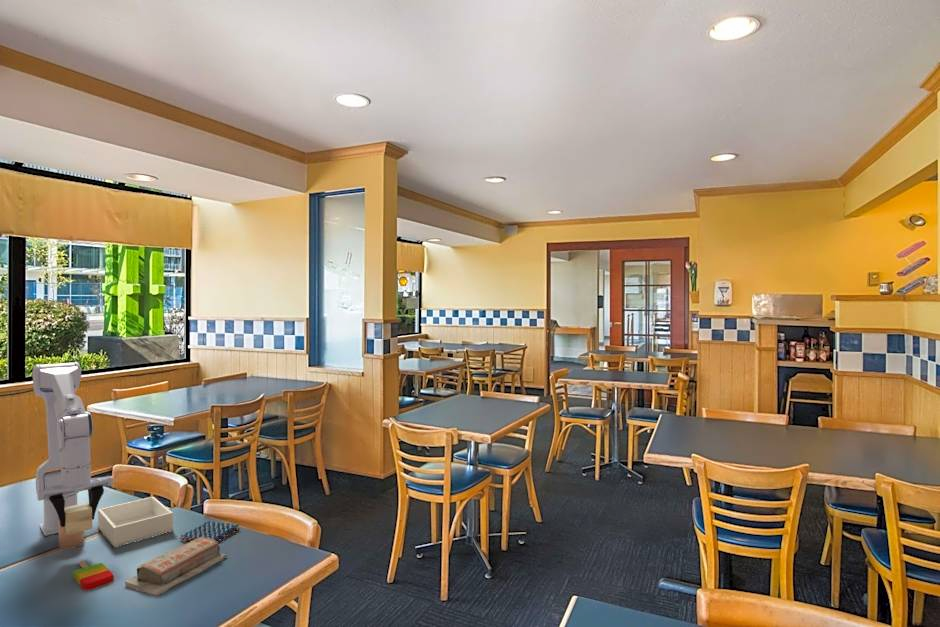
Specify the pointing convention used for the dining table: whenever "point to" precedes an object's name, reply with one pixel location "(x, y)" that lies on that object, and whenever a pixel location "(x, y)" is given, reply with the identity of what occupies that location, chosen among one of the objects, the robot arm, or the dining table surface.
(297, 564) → the dining table surface
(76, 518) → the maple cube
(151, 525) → the tote
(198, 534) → the woven mat
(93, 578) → the popsicle
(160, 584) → the packaged product
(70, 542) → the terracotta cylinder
